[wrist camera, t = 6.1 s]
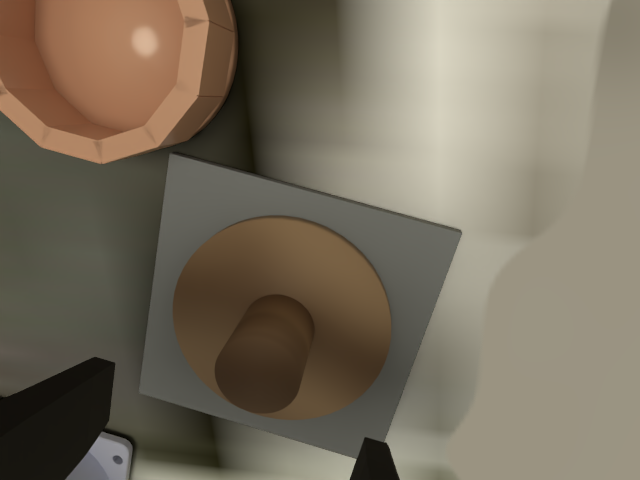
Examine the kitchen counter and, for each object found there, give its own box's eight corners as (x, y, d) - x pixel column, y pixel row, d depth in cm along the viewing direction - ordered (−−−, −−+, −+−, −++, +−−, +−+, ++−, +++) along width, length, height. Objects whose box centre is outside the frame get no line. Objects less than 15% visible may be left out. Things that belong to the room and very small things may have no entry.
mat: (375, 457, 20) (375, 464, 19) (143, 387, 20) (138, 392, 20) (460, 230, 16) (462, 233, 16) (174, 152, 17) (169, 153, 16)
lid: (365, 428, 19) (362, 509, 15) (173, 383, 19) (124, 450, 16) (414, 241, 16) (424, 283, 12) (188, 194, 17) (133, 221, 13)
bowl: (218, 172, 17) (185, 187, 14) (30, 120, 17) (-40, 125, 14) (257, -58, 14) (226, -97, 11) (36, -112, 14) (-48, -163, 12)
